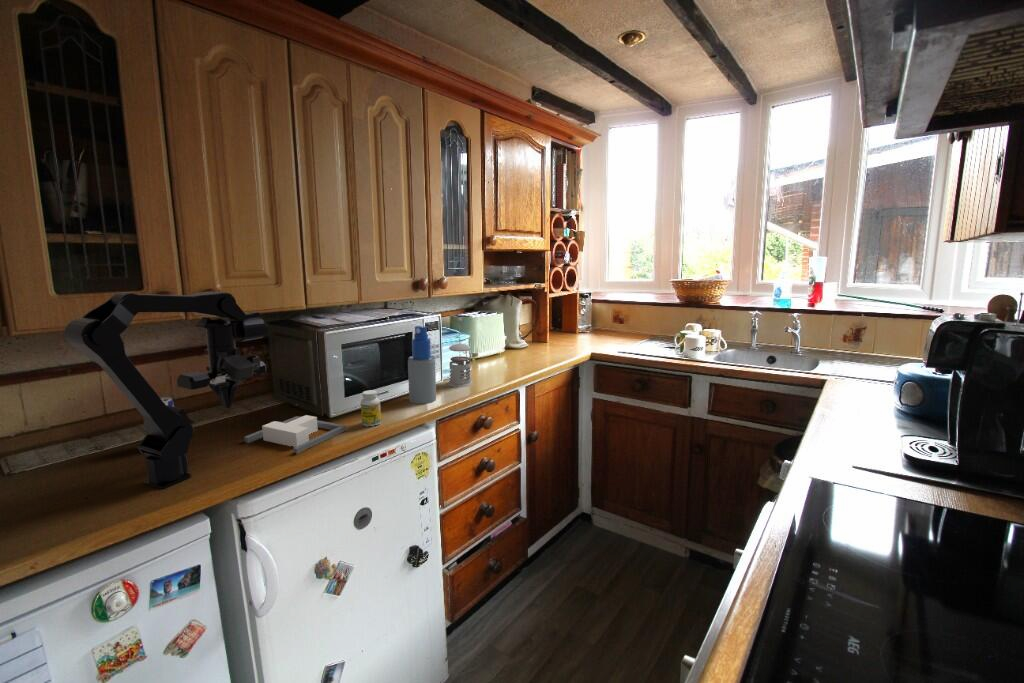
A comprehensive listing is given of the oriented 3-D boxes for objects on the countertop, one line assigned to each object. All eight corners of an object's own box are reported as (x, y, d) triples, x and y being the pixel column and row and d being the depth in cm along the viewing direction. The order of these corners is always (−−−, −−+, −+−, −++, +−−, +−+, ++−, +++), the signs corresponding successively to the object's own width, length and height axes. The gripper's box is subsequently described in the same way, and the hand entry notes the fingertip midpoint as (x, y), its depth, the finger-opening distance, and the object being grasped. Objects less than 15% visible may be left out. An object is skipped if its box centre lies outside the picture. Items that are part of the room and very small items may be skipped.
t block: (297, 448, 124) (296, 433, 124) (263, 440, 129) (262, 426, 128) (328, 433, 134) (327, 419, 133) (296, 426, 139) (295, 413, 138)
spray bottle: (426, 405, 158) (424, 329, 153) (403, 401, 161) (401, 327, 156) (441, 397, 166) (439, 325, 161) (418, 394, 169) (416, 323, 164)
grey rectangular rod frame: (297, 454, 120) (296, 448, 120) (244, 442, 127) (244, 436, 127) (346, 430, 136) (345, 425, 136) (297, 420, 143) (296, 416, 143)
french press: (442, 385, 180) (440, 318, 175) (457, 377, 191) (456, 314, 186) (465, 388, 176) (464, 320, 171) (480, 380, 187) (479, 316, 182)
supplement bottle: (382, 420, 144) (381, 389, 142) (379, 426, 139) (378, 394, 137) (363, 420, 144) (362, 389, 142) (360, 427, 138) (358, 395, 137)
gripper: (203, 355, 103) (210, 425, 106) (279, 341, 120) (283, 402, 123) (172, 350, 108) (179, 417, 111) (248, 337, 125) (253, 396, 127)
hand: (227, 407), depth 118 cm, fingers closed
